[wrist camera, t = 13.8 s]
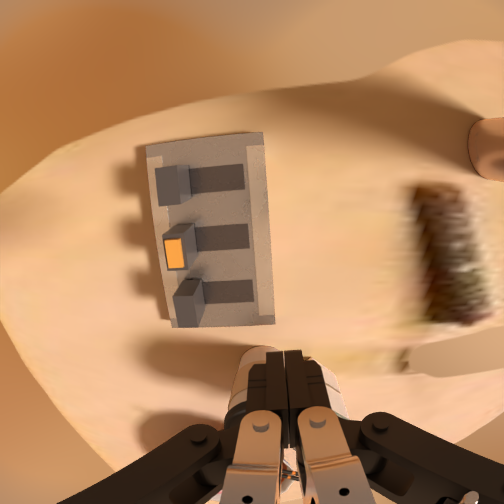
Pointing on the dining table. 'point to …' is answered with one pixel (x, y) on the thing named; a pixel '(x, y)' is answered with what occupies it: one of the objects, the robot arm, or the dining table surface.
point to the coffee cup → (244, 385)
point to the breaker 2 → (189, 303)
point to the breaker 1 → (173, 185)
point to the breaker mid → (180, 247)
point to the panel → (220, 226)
